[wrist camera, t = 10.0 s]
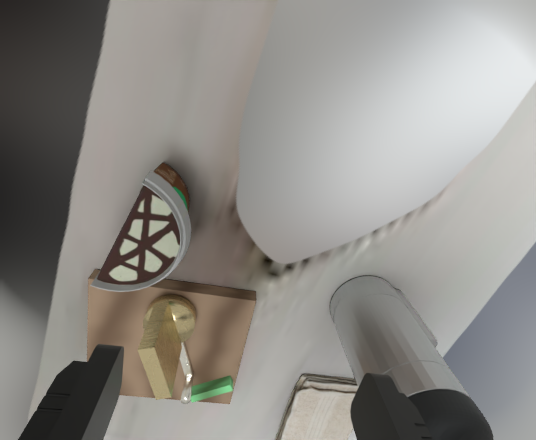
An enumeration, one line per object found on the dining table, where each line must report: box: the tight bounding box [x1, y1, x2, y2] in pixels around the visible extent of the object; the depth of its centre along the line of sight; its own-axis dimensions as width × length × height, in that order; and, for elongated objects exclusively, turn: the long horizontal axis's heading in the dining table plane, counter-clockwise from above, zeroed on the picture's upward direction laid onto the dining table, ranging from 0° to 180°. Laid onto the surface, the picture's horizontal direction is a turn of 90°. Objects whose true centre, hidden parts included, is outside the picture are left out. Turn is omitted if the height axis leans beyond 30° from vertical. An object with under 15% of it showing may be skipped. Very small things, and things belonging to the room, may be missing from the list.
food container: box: [90, 162, 191, 292], centre depth 34 cm, size 12×6×10 cm, turn 148°
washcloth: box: [275, 374, 358, 440], centre depth 54 cm, size 12×18×3 cm, turn 168°
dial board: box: [87, 269, 256, 404], centre depth 44 cm, size 20×19×4 cm
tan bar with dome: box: [138, 295, 196, 404], centre depth 39 cm, size 15×6×9 cm, turn 7°
